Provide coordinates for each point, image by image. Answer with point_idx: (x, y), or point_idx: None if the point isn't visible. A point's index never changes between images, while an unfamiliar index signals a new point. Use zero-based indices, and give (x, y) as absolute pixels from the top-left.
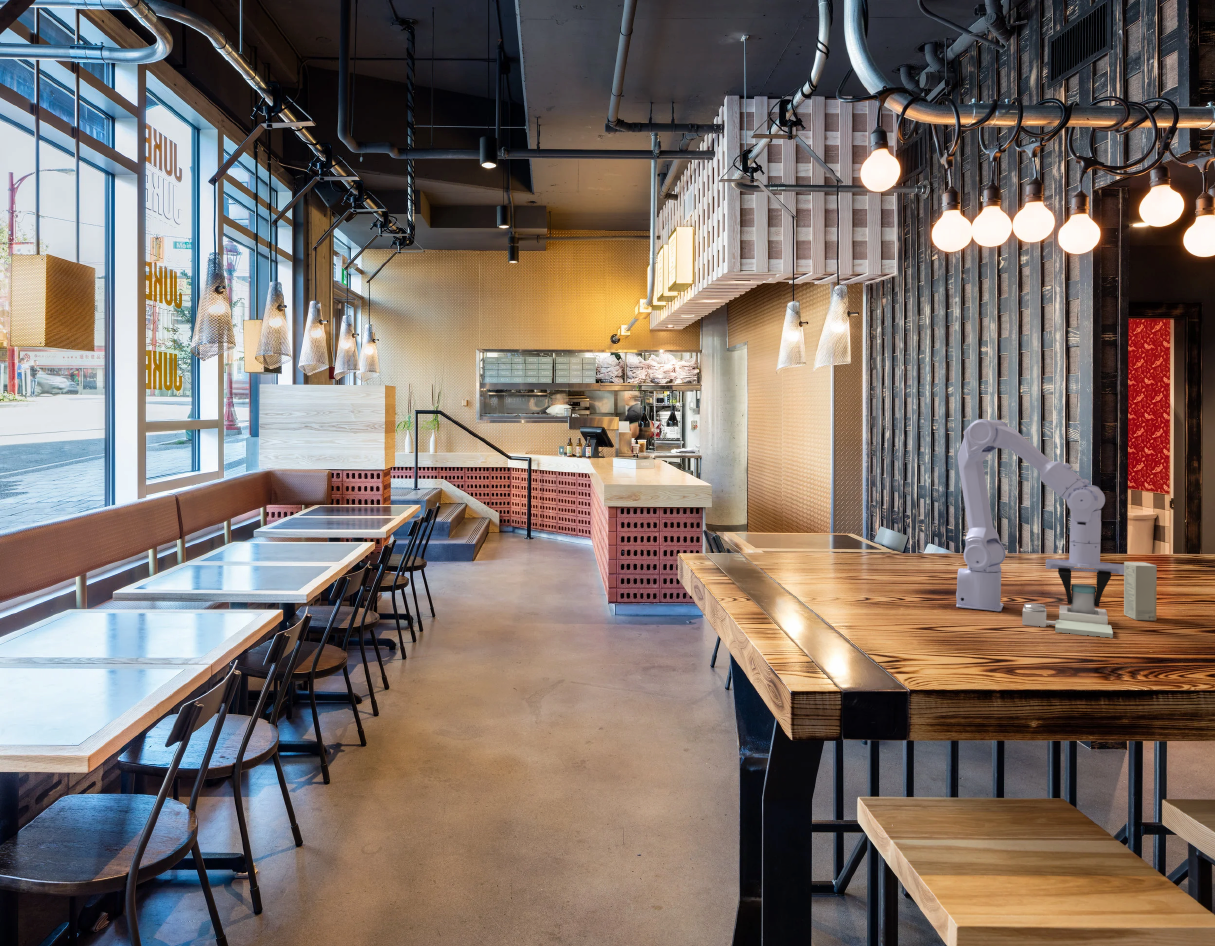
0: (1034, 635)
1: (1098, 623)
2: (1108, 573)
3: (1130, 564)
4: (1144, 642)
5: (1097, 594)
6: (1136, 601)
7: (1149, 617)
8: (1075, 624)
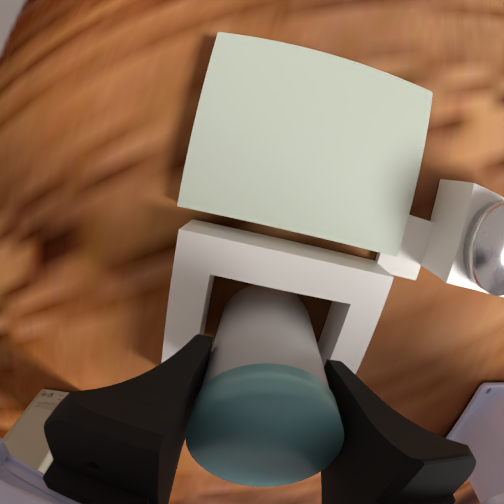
0: (480, 44)
1: (224, 229)
2: (65, 473)
3: None
4: (124, 28)
5: (192, 364)
6: None
7: (51, 394)
8: (341, 170)
